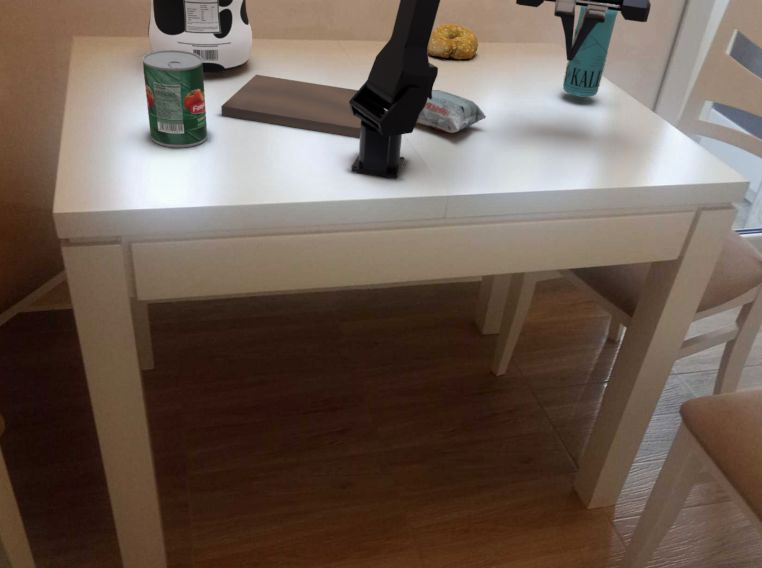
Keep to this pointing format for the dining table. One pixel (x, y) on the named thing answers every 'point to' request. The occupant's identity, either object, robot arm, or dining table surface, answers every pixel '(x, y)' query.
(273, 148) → the dining table surface
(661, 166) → the dining table surface
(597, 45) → the beverage bottle
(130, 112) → the dining table surface
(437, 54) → the bagel
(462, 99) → the packaged food
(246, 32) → the milk container
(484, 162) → the dining table surface
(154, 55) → the canned tomato
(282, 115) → the bread board
